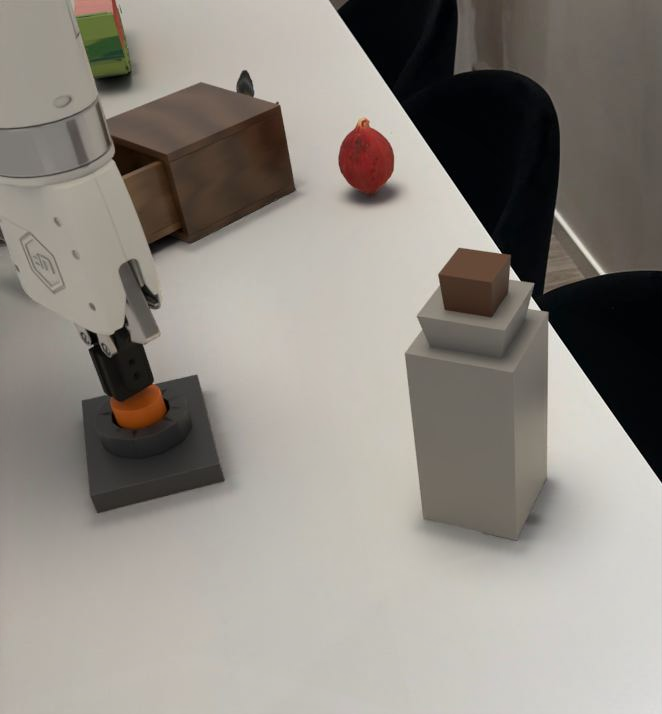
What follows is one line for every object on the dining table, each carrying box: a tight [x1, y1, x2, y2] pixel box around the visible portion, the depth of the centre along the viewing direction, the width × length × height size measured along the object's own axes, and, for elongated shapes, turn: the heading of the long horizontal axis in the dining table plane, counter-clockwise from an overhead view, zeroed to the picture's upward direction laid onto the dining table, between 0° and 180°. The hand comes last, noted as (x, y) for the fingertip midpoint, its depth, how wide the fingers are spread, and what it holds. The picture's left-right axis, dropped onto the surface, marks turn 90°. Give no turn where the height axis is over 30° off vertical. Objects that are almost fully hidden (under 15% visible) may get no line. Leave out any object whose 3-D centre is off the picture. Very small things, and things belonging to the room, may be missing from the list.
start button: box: [110, 383, 167, 429], centre depth 70 cm, size 4×4×2 cm
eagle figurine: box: [235, 69, 280, 105], centre depth 115 cm, size 8×7×9 cm
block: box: [80, 374, 225, 514], centre depth 72 cm, size 12×9×4 cm
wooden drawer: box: [0, 143, 182, 245], centre depth 94 cm, size 19×11×7 cm, turn 142°
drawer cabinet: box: [106, 81, 297, 244], centre depth 101 cm, size 15×13×9 cm
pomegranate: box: [337, 117, 395, 196], centre depth 101 cm, size 6×6×8 cm
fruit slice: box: [73, 0, 132, 80], centre depth 134 cm, size 26×6×10 cm, turn 18°
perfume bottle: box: [404, 247, 549, 541], centre depth 61 cm, size 7×7×18 cm
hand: (130, 388), depth 70 cm, fingers closed
